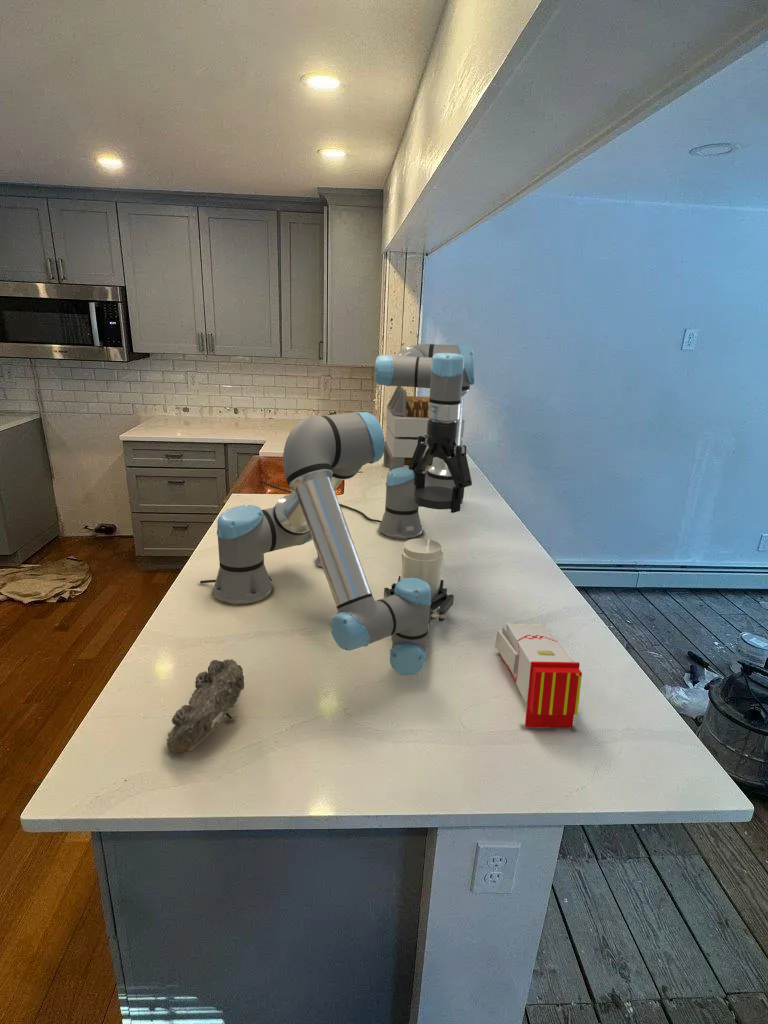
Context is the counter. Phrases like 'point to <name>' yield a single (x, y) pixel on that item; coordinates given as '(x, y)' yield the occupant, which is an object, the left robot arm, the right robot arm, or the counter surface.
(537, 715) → the toy
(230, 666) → the fossil
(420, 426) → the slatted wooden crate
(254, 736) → the counter surface
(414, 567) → the jar
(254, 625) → the counter surface
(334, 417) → the left robot arm
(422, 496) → the lid
